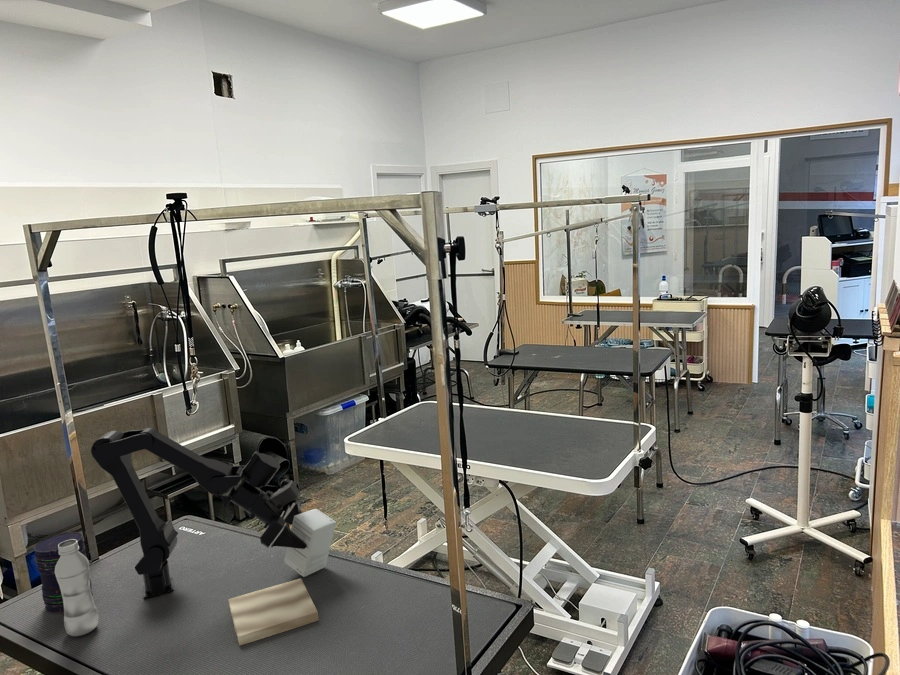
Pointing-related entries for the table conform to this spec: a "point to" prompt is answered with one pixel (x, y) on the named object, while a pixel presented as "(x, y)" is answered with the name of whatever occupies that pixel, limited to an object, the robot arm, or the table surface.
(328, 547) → the supplement box
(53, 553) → the storage jar
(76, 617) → the plastic bottle
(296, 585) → the ash board
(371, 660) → the table surface
